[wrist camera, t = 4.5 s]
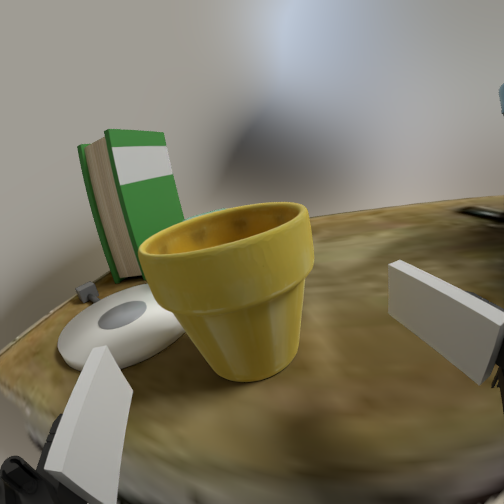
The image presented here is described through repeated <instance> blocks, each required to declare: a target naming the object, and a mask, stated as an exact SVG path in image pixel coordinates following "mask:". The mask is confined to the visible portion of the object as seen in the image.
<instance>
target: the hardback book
mask: <svg viewBox="0 0 504 504" xmlns="http://www.w3.org/2000/svg"><path fill="white" fill-rule="evenodd" d="M104 134H105V137H103V138H101V139H99V140H97V141H96V142H94V143H92V144H81V145H79V146H78V147H77V148H78V153H79V159H80V164H81V169H82V174H83V178H84V183H85V186H86V191H87V195H88V199H89V203H90V207H91V211H92V214H93V218H94V222H95V225H96V228H97V232H98V235H99V238H100V241H101V244H102V247H103V251H104V254H105V257H106V259H107V262H108V265H109V268H110V271H111V273H112V276H113V279H114V281H115V284H116V283H120V282H121V281H123V280H124V279H125V278H126V277H131V276H139V275H142V276H143V279H144V280H146V278H145V275H144V272H143V270H142V267H141V264H140V260H139V257H138V249H139V247H140V245H141V244H142V243H143V242H144V241H145V240H147V239H148V238H149V237H151V236H153V235H154V234H156V233H158V232H160V231H162V230H164V229H166V228H168V227H171V226H173V225H176V224H178V223H181V222H182V221H183V220H184V216H183V212H182V208H181V204H180V201H179V197H178V193H177V189H176V185H175V180H174V176H173V172H172V168H171V164H170V159H169V155H168V151H167V146H166V142H165V137H164V133H163V132H151V131H138V130H120V129H108V130H106V131H104Z"/></svg>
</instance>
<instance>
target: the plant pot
mask: <svg viewBox="0 0 504 504" xmlns="http://www.w3.org/2000/svg"><path fill="white" fill-rule="evenodd" d="M138 257H139V260H140V264H141V267H142V270H143V272H144V275H145V278H146V280H147V283H148V285H149V288H150V290H151V292H152V294H153V297H154V299H155V300H156V302H157V303H158V304H159V305H160V306H161V307H162V308H164V309H165V310H167V311H170V312H172V313H173V314H174V316H175V317H176V319H177V320H178V322H179V323H180V325H181V326H182V327H183V329H184V330H185V332H186V333H187V335H188V336H189V337H190V339H191V340H192V342H193V343H194V344H195V346H196V347H197V349H198V350H199V351H200V353H201V354H202V356H203V357H204V358H205V360H206V361H207V362H208V364H209V365H210V366H211V368H212V369H213V370H214V371H215V372H216V373H217V374H218V375H219V376H221V377H223V378H225V379H228V380H231V381H237V382H252V381H258V380H262V379H266V378H269V377H271V376H273V375H275V374H277V373H278V372H280V371H282V370H283V369H284V368H285V367H287V366H288V365H289V364H290V362H291V361H292V360H293V358H294V357H295V355H296V353H297V350H298V345H299V335H300V325H301V315H302V306H303V296H304V285H305V278H306V277H307V275H308V274H309V273H310V271H311V270H312V267H313V264H314V250H313V239H312V232H311V226H310V220H309V214H308V210H307V209H306V207H304V206H303V205H301V204H298V203H292V202H271V203H260V204H253V205H246V206H240V207H235V208H229V209H225V210H221V211H217V212H213V213H209V214H205V215H202V216H198V217H195V218H192V219H189V220H186V221H183V222H181V223H178V224H176V225H173V226H171V227H168V228H166V229H164V230H162V231H160V232H158V233H156V234H154V235H153V236H151V237H149V238H148V239H147V240H145V241H144V242H143V243H142V244H141V245H140V247H139V249H138Z"/></svg>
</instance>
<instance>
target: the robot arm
mask: <svg viewBox="0 0 504 504" xmlns="http://www.w3.org/2000/svg"><path fill="white" fill-rule="evenodd" d="M499 97H500V101H501V108H502V111H501V112H502V114H503V115H504V84H503V85H501V87H500V89H499ZM388 275H389V307H388V314H389V315H391V316H392V317H393V318H395V319H396V320H397V321H399V322H400V323H401V324H402V325H404V326H405V327H406V328H408V329H409V330H410V331H412V332H413V333H414V334H415V335H417V336H418V337H419V338H421V339H422V340H423V341H424V342H426V343H427V344H428V345H430V346H431V347H432V348H433V349H435V350H436V351H437V352H438V353H440V354H441V355H442V356H443V357H445V358H446V359H447V360H449V361H450V362H451V363H452V364H453V365H455V366H456V367H457V368H458V369H460V370H461V371H462V372H463V373H465V374H466V375H467V376H468V377H469V378H471V379H472V380H473V381H474V382H475V383H477V384H478V385H479V386H480V385H481V384H482V383H483V382H484V381H485V380H486V379H487V378H488V377H489V376H490V375H491V372H492V370H493V367H494V365H495V364H497V365H498V366H499V368H498V370H497V373H496V375H495V377H494V380H493V382H492V387H491V388H494V386H495V384H496V382H497V380H499V382H498V385H497V387H500V391H501V397H502V404H503V412H504V309H503V308H501V307H499V306H497V305H495V304H494V303H492V302H490V303H489V301H488V300H486V299H484V298H483V299H482V297H480V296H478V295H476V294H475V293H472V292H468V291H464V290H461V289H459V288H457V287H455V286H453V285H451V284H449V283H447V282H445V281H443V280H441V279H439V278H437V277H435V276H433V275H431V274H429V273H427V272H425V271H423V270H420V269H418V268H416V267H414V266H412V265H410V264H408V263H406V262H403V261H401V260H398V261H396V262H393V263H391V264H388ZM132 394H133V390H132V388H131V387H130V385H129V383H128V382H127V380H126V378H125V377H124V375H123V373H122V372H121V370H120V368H119V367H118V365H117V363H116V361H115V360H114V358H113V356H112V354H111V352H110V350H109V349H108V347H107V345H106V346H101V347H96V348H93V349H92V351H91V353H90V355H89V357H88V359H87V361H86V363H85V365H84V367H83V370H82V372H81V374H80V376H79V378H78V380H77V383H76V385H75V387H74V389H73V392H72V394H71V396H70V399H69V401H68V403H67V406H66V408H65V411H64V413H63V414H60V415H59V416H58V417H57V419H56V420H55V421H54V422H53V424H52V427H51V429H50V432H49V433H50V435H48V437H47V440H46V441H47V443H45V445H44V448H43V451H42V454H41V457H40V460H39V463H38V466H37V469H36V470H34V469H33V468H32V467H31V466H30V465H29V464H28V463H27V462H26V461H24V460H23V459H22V458H21V457H19V456H11V457H9V458H8V459H6V460H5V461H4V463H3V464H2V466H1V469H0V504H87V503H89V504H116V503H117V491H118V481H119V473H120V465H121V457H122V450H123V444H124V437H125V431H126V425H127V420H128V414H129V409H130V404H131V399H132Z"/></svg>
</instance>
